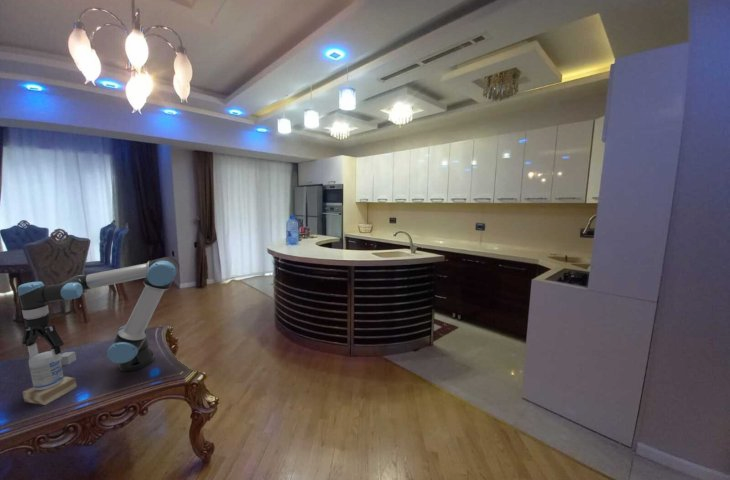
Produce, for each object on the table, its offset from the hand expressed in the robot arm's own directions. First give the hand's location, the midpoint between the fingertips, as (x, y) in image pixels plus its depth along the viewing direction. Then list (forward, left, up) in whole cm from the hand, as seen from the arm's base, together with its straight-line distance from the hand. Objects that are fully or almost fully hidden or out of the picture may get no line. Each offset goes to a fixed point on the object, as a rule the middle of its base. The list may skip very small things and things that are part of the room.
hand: (46, 359), depth 129 cm
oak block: (0, 0, -18) cm, 18 cm away
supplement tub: (+1, 0, -13) cm, 13 cm away
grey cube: (+24, -22, -18) cm, 37 cm away
